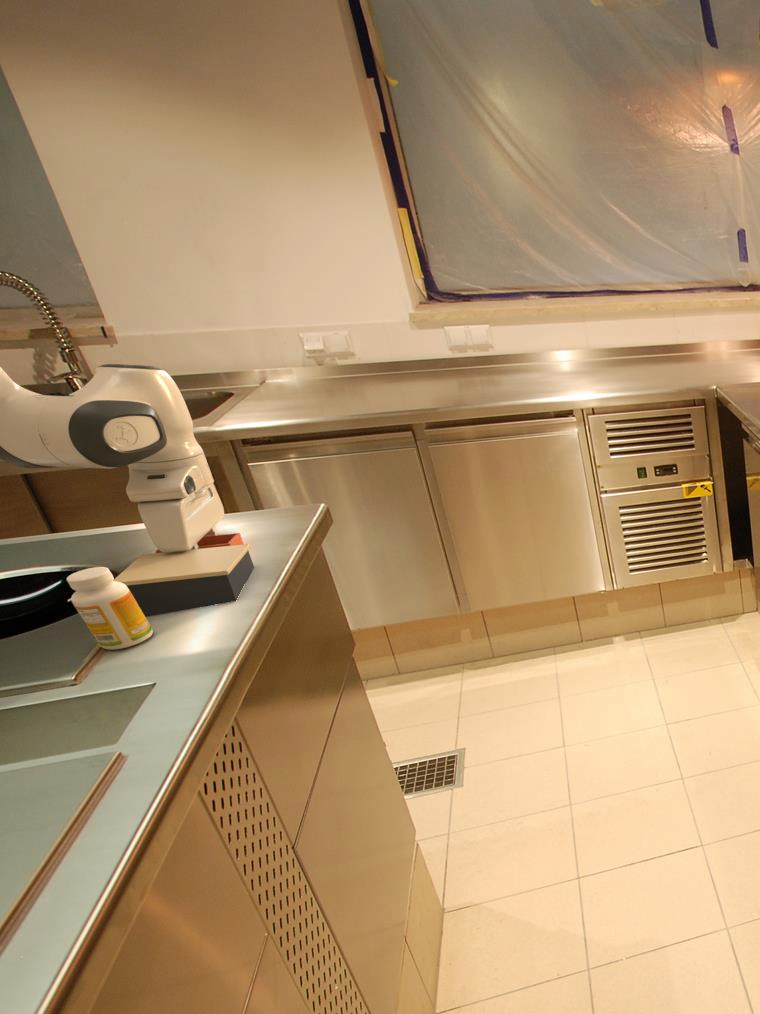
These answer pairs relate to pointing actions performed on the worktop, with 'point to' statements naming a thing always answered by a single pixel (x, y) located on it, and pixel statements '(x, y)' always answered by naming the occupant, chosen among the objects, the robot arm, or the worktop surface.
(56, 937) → the worktop surface
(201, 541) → the terracotta tub
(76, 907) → the worktop surface
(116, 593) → the supplement bottle
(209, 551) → the slate storage box
